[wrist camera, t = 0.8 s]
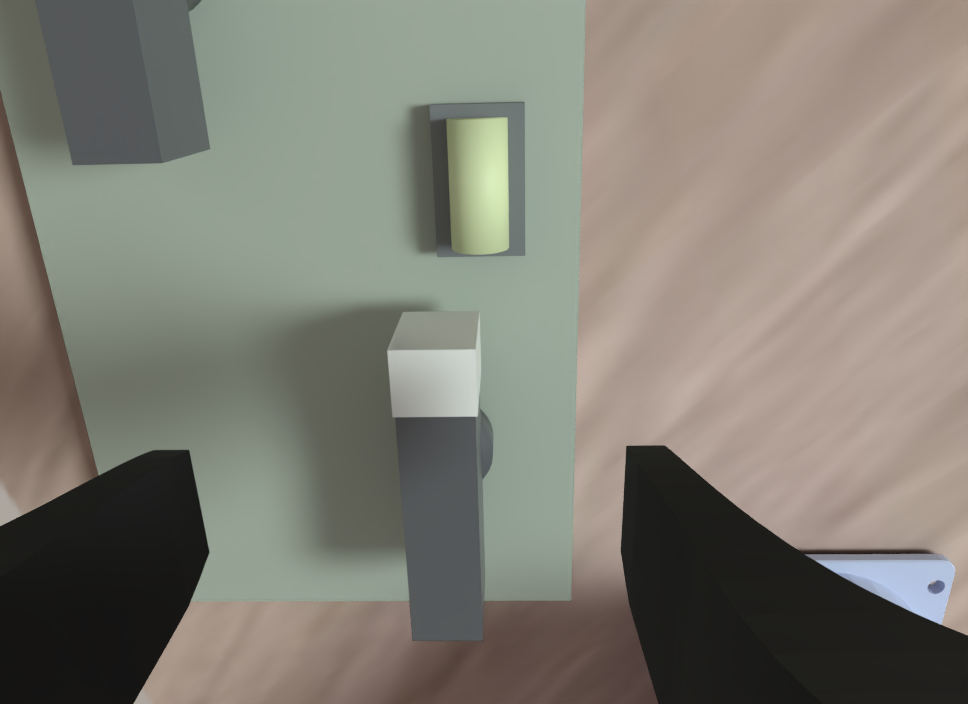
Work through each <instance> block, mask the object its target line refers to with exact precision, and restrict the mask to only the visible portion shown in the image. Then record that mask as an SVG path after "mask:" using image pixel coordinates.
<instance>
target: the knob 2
mask: <svg viewBox="0 0 968 704" xmlns="http://www.w3.org/2000/svg"><path fill="white" fill-rule="evenodd" d="M387 355H388V368H389V380H390V393H391V406H392V417H395V423H396V436H397V448H398V461H399V474H400V487H401V499H402V512H403V525H404V538H405V550H406V563H407V576H408V589H409V602H410V614H411V627H412V640H413V641H483V625H484V599H485V547H484V513H483V479H484V477H485V476H486V475H487V473H488V472H489V470H490V467H491V465H492V460H493V437H494V436H493V429H492V425H491V423H490V421H489V419H488V417H487V416H486V414H485V413H484V412H483V411H482V410H481V409H480V381H481V342H480V311H428V312H403V313H402V315H401V318H400V320H399V323H398V325H397V328H396V330H395V332H394V335H393V337H392V340H391V342H390V345H389V347H388V350H387Z"/></svg>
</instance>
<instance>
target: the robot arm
mask: <svg viewBox="0 0 968 704" xmlns="http://www.w3.org/2000/svg"><path fill="white" fill-rule="evenodd" d="M209 553H210V552H209V547H208V542H207V537H206V532H205V527H204V522H203V517H202V512H201V507H200V502H199V497H198V491H197V486H196V481H195V476H194V471H193V466H192V461H191V456H190V451H189V450H152V451H149V452H147V453H144V454H142V455H139V456H137V457H135V458H133V459H131V460H128V461H126V462H124V463H122V464H120V465H118V466H116V467H114V468H112V469H110V470H108V471H107V472H105V473H103V474H101V475H99V476H97V477H95V478H93V479H91V480H89V481H88V482H86V483H84V484H82V485H80V486H78V487H76V488H74V489H72V490H71V491H69V492H67V493H65V494H63V495H61V496H59V497H57V498H55V499H54V500H52V501H50V502H48V503H46V504H44V505H42V506H40V507H38V508H36V509H34V510H32V511H30V512H28V513H26V514H24V515H22V516H20V517H18V518H16V519H14V520H12V521H10V522H8V523H6V524H4V525H2V526H0V704H133V703H134V702H135V700H136V698H137V696H138V694H139V693H140V691H141V689H142V688H143V686H144V684H145V682H146V681H147V679H148V677H149V675H150V674H151V672H152V670H153V669H154V667H155V665H156V663H157V662H158V660H159V658H160V656H161V655H162V653H163V651H164V649H165V648H166V646H167V644H168V642H169V641H170V639H171V637H172V635H173V633H174V632H175V630H176V628H177V626H178V625H179V623H180V621H181V619H182V617H183V615H184V614H185V612H186V610H187V608H188V606H189V604H190V602H191V599H192V597H193V594H194V592H195V590H196V587H197V585H198V582H199V580H200V577H201V574H202V572H203V569H204V566H205V564H206V561H207V558H208V555H209ZM621 555H622V561H623V568H624V575H625V581H626V587H627V593H628V599H629V605H630V608H631V612H632V615H633V619H634V622H635V626H636V629H637V633H638V636H639V639H640V643H641V646H642V650H643V653H644V656H645V660H646V663H647V666H648V670H649V673H650V676H651V680H652V683H653V686H654V690H655V693H656V697H657V700H658V703H659V704H968V636H967V635H965V634H962V633H960V632H957V631H955V630H952V629H950V628H947V627H945V626H943V625H941V624H942V621H943V617H944V613H945V609H946V605H947V602H948V598H949V594H950V590H951V586H952V583H953V579H954V575H955V567H954V565H953V564H952V563H951V561H950V560H949V559H948V558H947V557H945V556H944V555H940V554H803V553H802V552H800V551H799V550H797V549H795V548H794V547H792V546H791V545H789V544H788V543H786V542H785V541H783V540H782V539H781V538H779V537H778V536H776V535H775V534H774V533H772V532H771V531H769V530H768V529H766V528H765V527H764V526H762V525H761V524H759V523H758V522H757V521H755V520H754V519H753V518H751V517H750V516H749V515H747V514H746V513H745V512H743V511H742V510H741V509H740V508H738V507H737V506H736V505H734V504H733V503H732V502H731V501H729V500H728V499H727V498H726V497H725V496H723V495H722V494H721V493H720V492H718V491H717V490H716V489H715V488H714V487H713V486H711V485H710V484H709V483H708V482H707V481H705V480H704V479H703V478H702V477H701V476H700V475H699V474H697V473H696V472H695V471H694V470H693V469H692V468H690V467H689V466H688V465H687V464H686V463H685V462H684V461H682V460H681V459H680V458H679V457H678V456H677V455H676V454H674V453H673V452H672V451H671V450H670V449H668V448H667V447H666V446H627V447H626V465H625V484H624V502H623V521H622V539H621ZM933 581H936V582H935V583H934V584H932V585H929V584H930V583H931V582H933Z"/></svg>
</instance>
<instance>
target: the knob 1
mask: <svg viewBox="0 0 968 704" xmlns="http://www.w3.org/2000/svg"><path fill="white" fill-rule="evenodd" d="M200 2H201V0H35V3H36V7H37V11H38V16H39V20H40V24H41V29H42V33H43V38H44V42H45V46H46V51H47V55H48V59H49V64H50V68H51V73H52V77H53V81H54V86H55V90H56V94H57V99H58V103H59V108H60V112H61V116H62V121H63V125H64V129H65V134H66V138H67V142H68V147H69V151H70V156H71V160H72V164H73V165H109V164H153V163H165V162H169V161H172V160H175V159H179V158H182V157H186V156H189V155H192V154H196V153H199V152H202V151H206V150H209V149H210V144H209V138H208V131H207V125H206V119H205V113H204V106H203V100H202V94H201V87H200V81H199V75H198V69H197V62H196V56H195V50H194V43H193V37H192V31H191V25H190V18H189V12H190V11H191V10H193V9H194V8H195V7H196V6H197V5H198V4H199V3H200Z"/></svg>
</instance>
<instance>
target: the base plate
mask: <svg viewBox="0 0 968 704" xmlns="http://www.w3.org/2000/svg"><path fill="white" fill-rule="evenodd" d="M585 9H586V0H201V2H200V3H199V4H198V5H197V6H196V7H195V8H194V9H193V10H191V11H190V12H189V18H190V25H191V31H192V37H193V43H194V50H195V56H196V62H197V69H198V75H199V81H200V87H201V94H202V100H203V106H204V113H205V119H206V125H207V131H208V138H209V144H210V149H209V150H206V151H202V152H199V153H196V154H192V155H189V156H186V157H182V158H179V159H175V160H172V161H169V162H165V163H153V164H109V165H73V164H72V160H71V156H70V151H69V147H68V142H67V138H66V134H65V129H64V125H63V121H62V116H61V112H60V108H59V103H58V99H57V94H56V90H55V86H54V81H53V77H52V73H51V68H50V64H49V59H48V55H47V51H46V46H45V42H44V38H43V33H42V29H41V24H40V20H39V16H38V11H37V7H36V3H35V0H0V91H1V95H2V99H3V103H4V107H5V111H6V115H7V119H8V123H9V127H10V130H11V134H12V138H13V142H14V146H15V150H16V154H17V158H18V162H19V166H20V170H21V174H22V177H23V181H24V185H25V189H26V193H27V197H28V201H29V205H30V209H31V213H32V217H33V221H34V224H35V228H36V232H37V236H38V240H39V244H40V248H41V252H42V256H43V260H44V264H45V268H46V271H47V275H48V279H49V283H50V287H51V291H52V295H53V299H54V303H55V307H56V311H57V315H58V319H59V322H60V326H61V330H62V334H63V338H64V342H65V346H66V350H67V354H68V358H69V362H70V366H71V369H72V373H73V377H74V381H75V385H76V389H77V393H78V397H79V401H80V405H81V409H82V413H83V416H84V420H85V424H86V428H87V432H88V436H89V440H90V444H91V448H92V452H93V456H94V460H95V463H96V467H97V471H98V475H101V474H103V473H105V472H107V471H108V470H110V469H112V468H114V467H116V466H118V465H120V464H122V463H124V462H126V461H128V460H131V459H133V458H135V457H137V456H139V455H142V454H144V453H147V452H149V451H152V450H189V451H190V456H191V461H192V466H193V471H194V476H195V481H196V486H197V491H198V497H199V502H200V507H201V512H202V517H203V522H204V527H205V532H206V537H207V542H208V547H209V552H210V553H209V555H208V558H207V561H206V564H205V566H204V569H203V572H202V574H201V577H200V580H199V582H198V585H197V587H196V590H195V592H194V594H193V597H192V599H191V601H409V589H408V576H407V563H406V550H405V538H404V525H403V512H402V499H401V487H400V474H399V461H398V448H397V436H396V423H395V417H392V406H391V393H390V380H389V368H388V355H387V350H388V347H389V345H390V342H391V340H392V337H393V335H394V332H395V330H396V328H397V325H398V323H399V320H400V318H401V315H402V313H403V312H428V311H480V342H481V381H480V409H481V410H482V411H483V412H484V413H485V414H486V416H487V417H488V419H489V421H490V423H491V425H492V429H493V436H494V437H493V460H492V465H491V467H490V470H489V472H488V473H487V475H486V476H485V477H484V479H483V513H484V547H485V599H484V601H571V586H572V545H573V503H574V462H575V421H576V380H577V338H578V297H579V256H580V215H581V174H582V132H583V91H584V50H585Z"/></svg>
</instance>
